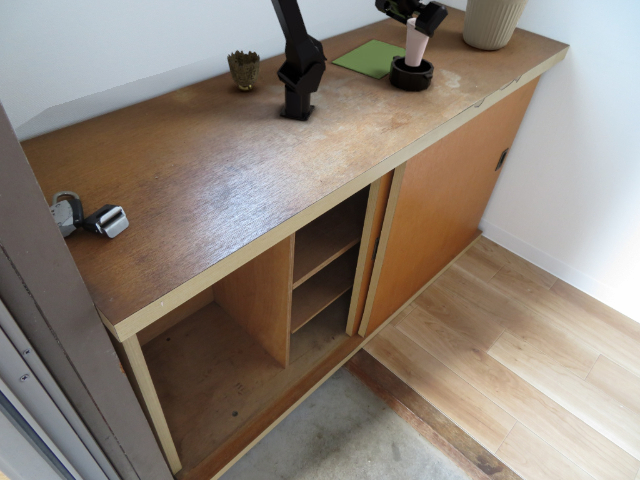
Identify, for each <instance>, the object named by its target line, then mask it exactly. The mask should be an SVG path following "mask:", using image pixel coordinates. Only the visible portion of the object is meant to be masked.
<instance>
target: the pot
mask: <svg viewBox="0 0 640 480" xmlns="http://www.w3.org/2000/svg"><path fill="white" fill-rule="evenodd" d="M434 70H435V66H434V65H433V63H432V62H430V61H429V60H427V59H425V58H422V59H421V62H420V65H419V66H409V65H406V64H405V56H402V57H400V56H399V55H398V56H393V61H392V62H391V67H390V73H388V81H389V84H390V85H391V86H392V87H394V88H396V89H397V90H401V91H405V92H422V91H426V90H428V88H429V87H430V86H431V83H432V80H433V78H434Z"/></svg>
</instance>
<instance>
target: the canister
mask: <svg viewBox="0 0 640 480" xmlns="http://www.w3.org/2000/svg"><path fill="white" fill-rule="evenodd" d="M528 1H529V0H467V1H466V6H465V13H464V21H463V26H462V37H463V40H464V42H465V43H466V44H467V45H469V46H471V47H473V48H476V49H479V50H486V51H496V50H501V49H502V48H504V47H505V46H507V44H508V43H509V41H510V40H511V38H512V36H513V34H514V32H515V30H516V27H517V26H518V24H519V21H520V20H521V16H522V15H523V12H524V10H525V8H526V6H527V4H528Z"/></svg>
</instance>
